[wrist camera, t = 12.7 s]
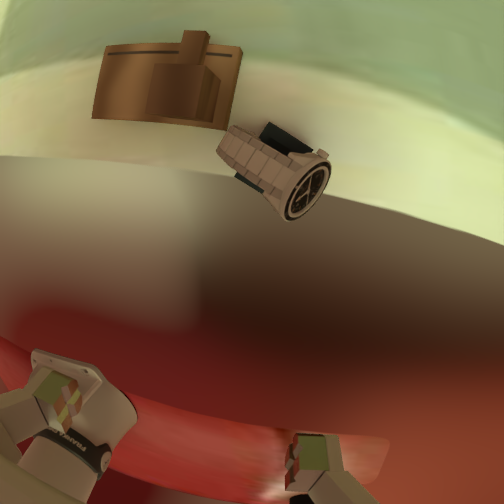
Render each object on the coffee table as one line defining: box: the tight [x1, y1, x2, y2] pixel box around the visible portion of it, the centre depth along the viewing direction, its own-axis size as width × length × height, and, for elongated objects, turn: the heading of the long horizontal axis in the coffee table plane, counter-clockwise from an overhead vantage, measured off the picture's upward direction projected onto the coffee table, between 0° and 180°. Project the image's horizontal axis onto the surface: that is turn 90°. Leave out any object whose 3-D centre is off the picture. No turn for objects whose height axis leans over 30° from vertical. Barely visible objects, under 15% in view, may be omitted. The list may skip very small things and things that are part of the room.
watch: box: [216, 122, 331, 222], centre depth 22 cm, size 6×8×11 cm
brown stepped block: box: [145, 30, 221, 123], centre depth 21 cm, size 4×7×6 cm, turn 169°
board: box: [92, 43, 243, 131], centre depth 24 cm, size 14×8×2 cm, turn 79°
